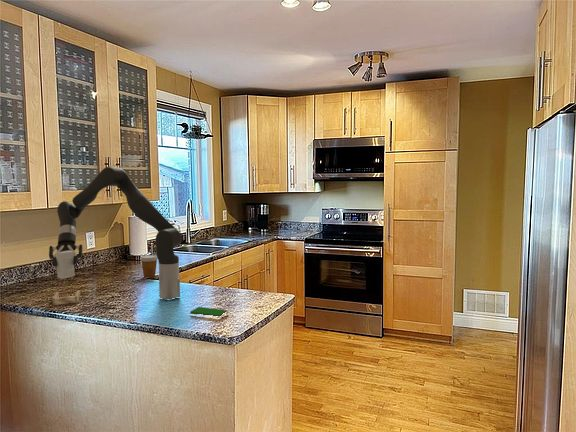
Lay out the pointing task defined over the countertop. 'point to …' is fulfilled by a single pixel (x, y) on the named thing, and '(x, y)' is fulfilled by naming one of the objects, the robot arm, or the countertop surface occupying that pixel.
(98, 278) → the countertop surface
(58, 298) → the u-shaped wooden frame
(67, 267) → the skincare box
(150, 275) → the disposable coffee cup
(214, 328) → the countertop surface
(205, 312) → the dish sponge
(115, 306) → the countertop surface
